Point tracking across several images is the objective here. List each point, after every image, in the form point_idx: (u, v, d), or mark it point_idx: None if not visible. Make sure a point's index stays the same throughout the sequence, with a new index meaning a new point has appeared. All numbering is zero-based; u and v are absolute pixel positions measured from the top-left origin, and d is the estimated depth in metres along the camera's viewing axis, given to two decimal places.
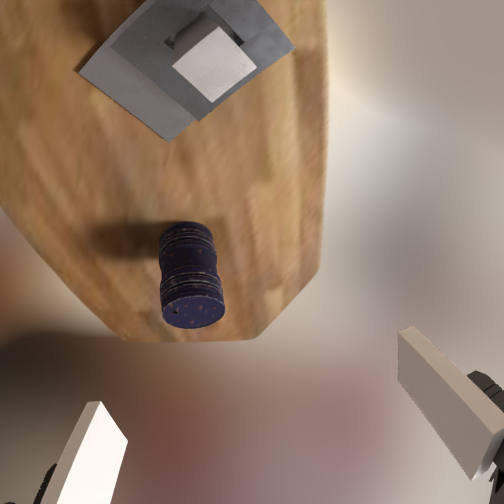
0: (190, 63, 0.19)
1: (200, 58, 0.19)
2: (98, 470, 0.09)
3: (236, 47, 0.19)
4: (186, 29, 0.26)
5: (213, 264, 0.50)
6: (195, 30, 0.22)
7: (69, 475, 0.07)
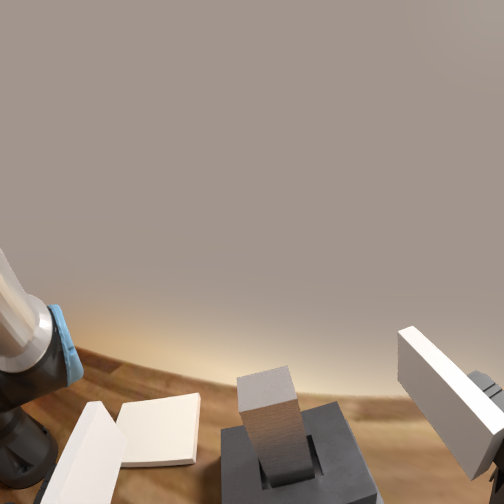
0: (248, 400, 0.22)
1: (250, 394, 0.23)
2: (98, 470, 0.09)
3: (261, 373, 0.25)
4: None
5: None
6: None
7: (69, 475, 0.07)
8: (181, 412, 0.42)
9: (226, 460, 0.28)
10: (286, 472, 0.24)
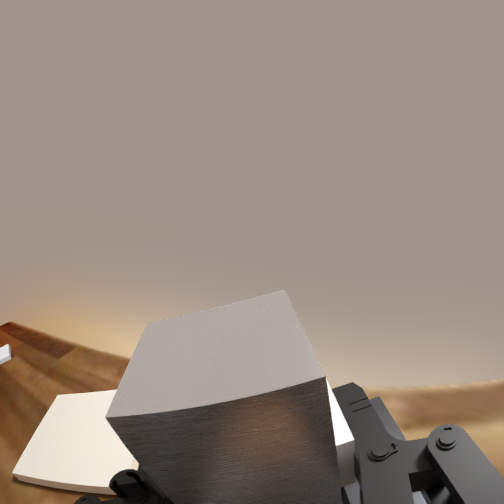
0: (149, 383, 0.06)
1: (163, 362, 0.07)
2: None
3: (210, 310, 0.09)
4: None
5: None
6: None
7: None
8: None
9: None
10: None
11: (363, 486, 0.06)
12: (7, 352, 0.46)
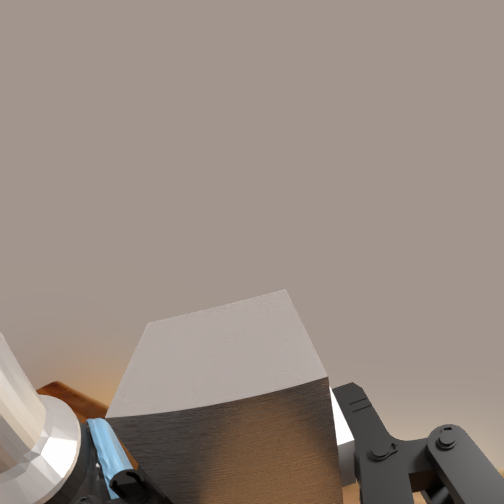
0: (149, 383, 0.06)
1: (163, 362, 0.07)
2: None
3: (211, 310, 0.09)
4: None
5: None
6: None
7: None
8: None
9: None
10: None
11: (363, 486, 0.06)
12: None
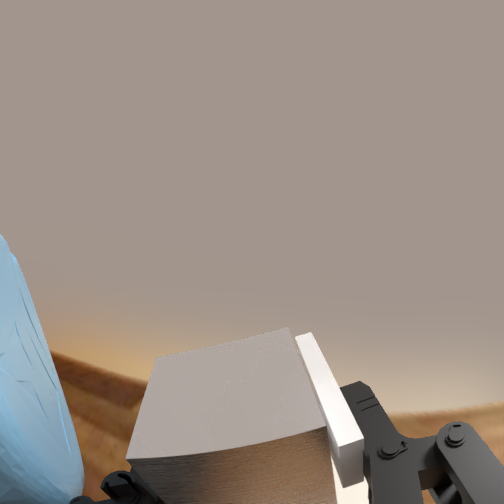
0: (164, 425, 0.06)
1: (175, 404, 0.07)
2: None
3: (217, 347, 0.09)
4: None
5: None
6: None
7: None
8: (350, 498, 0.14)
9: None
10: None
11: (373, 484, 0.06)
12: None
